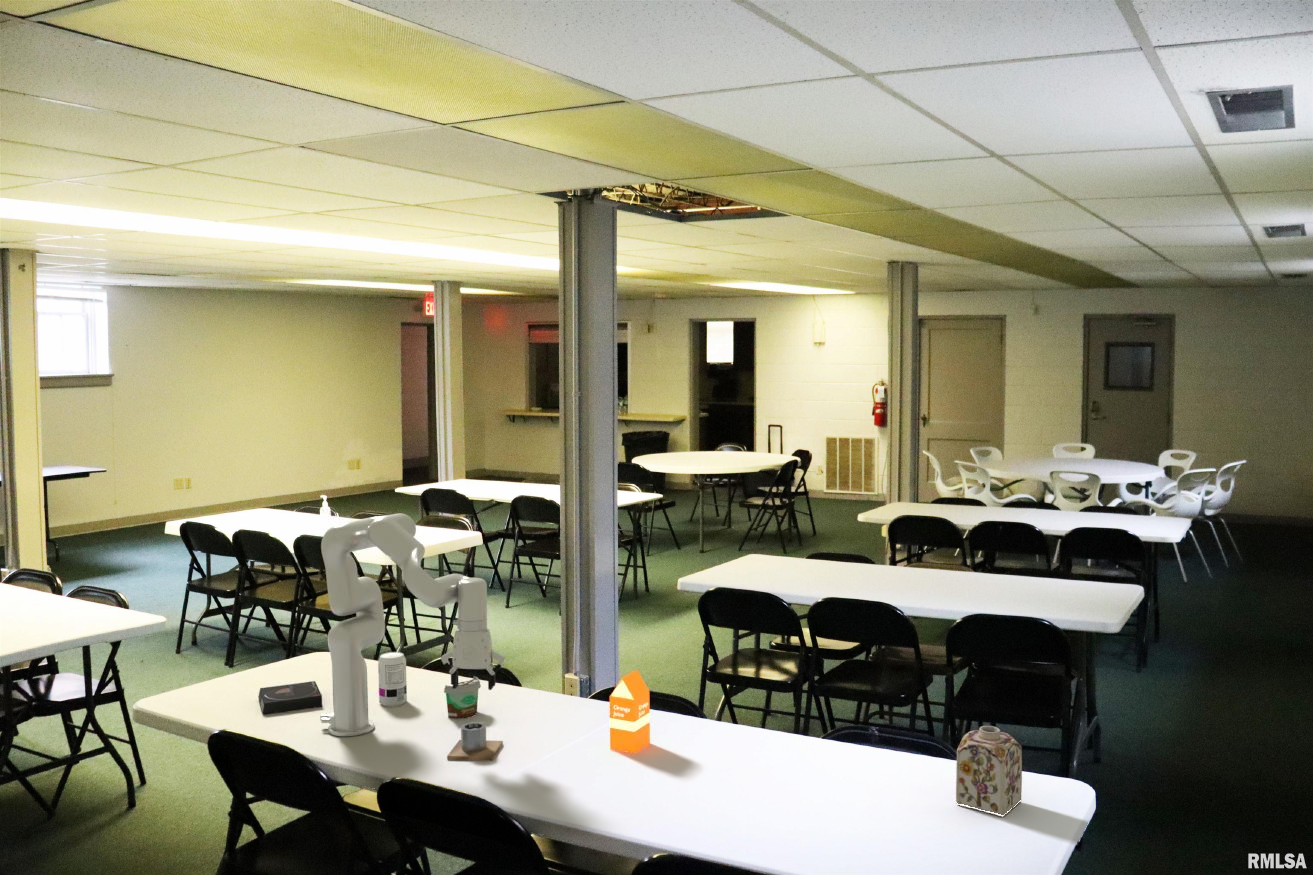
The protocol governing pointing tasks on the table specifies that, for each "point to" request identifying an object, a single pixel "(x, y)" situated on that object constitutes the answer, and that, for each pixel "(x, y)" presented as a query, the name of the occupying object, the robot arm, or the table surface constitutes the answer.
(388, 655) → the supplement can
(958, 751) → the decorative jar
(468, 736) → the sleeve
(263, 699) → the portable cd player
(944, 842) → the table surface
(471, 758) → the wooden peg base
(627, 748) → the orange juice
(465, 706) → the food container
